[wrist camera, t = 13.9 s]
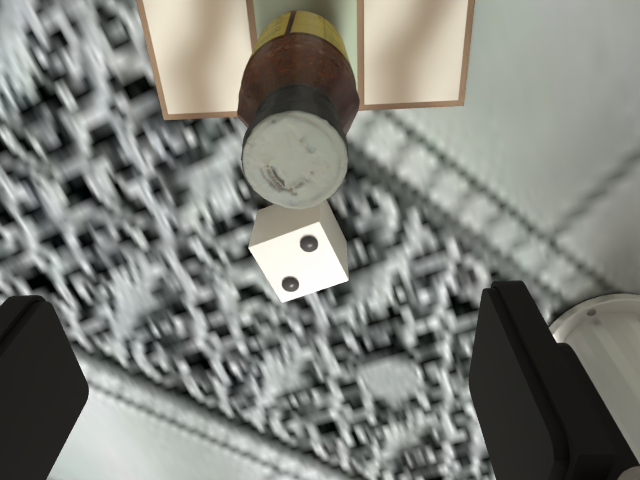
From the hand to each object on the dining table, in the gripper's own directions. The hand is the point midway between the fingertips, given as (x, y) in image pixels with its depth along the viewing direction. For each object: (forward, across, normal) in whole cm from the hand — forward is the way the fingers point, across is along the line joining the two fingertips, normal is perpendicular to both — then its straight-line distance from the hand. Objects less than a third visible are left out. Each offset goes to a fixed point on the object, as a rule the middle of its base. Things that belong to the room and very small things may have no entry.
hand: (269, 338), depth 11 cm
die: (+30, +2, +15) cm, 33 cm away
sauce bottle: (+29, 0, 0) cm, 29 cm away
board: (+30, 0, 0) cm, 30 cm away
